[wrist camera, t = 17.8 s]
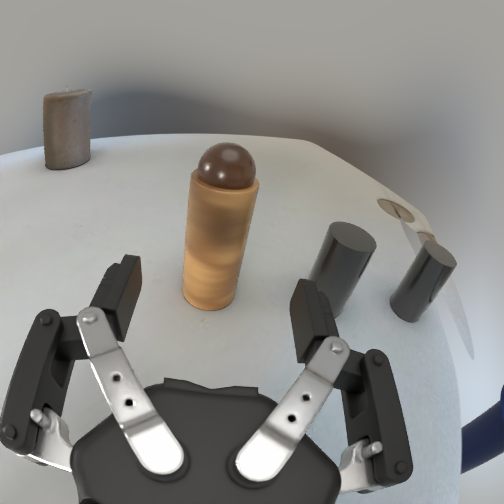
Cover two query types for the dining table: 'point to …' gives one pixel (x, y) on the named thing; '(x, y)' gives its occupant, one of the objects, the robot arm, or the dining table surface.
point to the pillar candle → (67, 128)
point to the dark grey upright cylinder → (422, 281)
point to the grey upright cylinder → (342, 262)
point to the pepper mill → (218, 224)
